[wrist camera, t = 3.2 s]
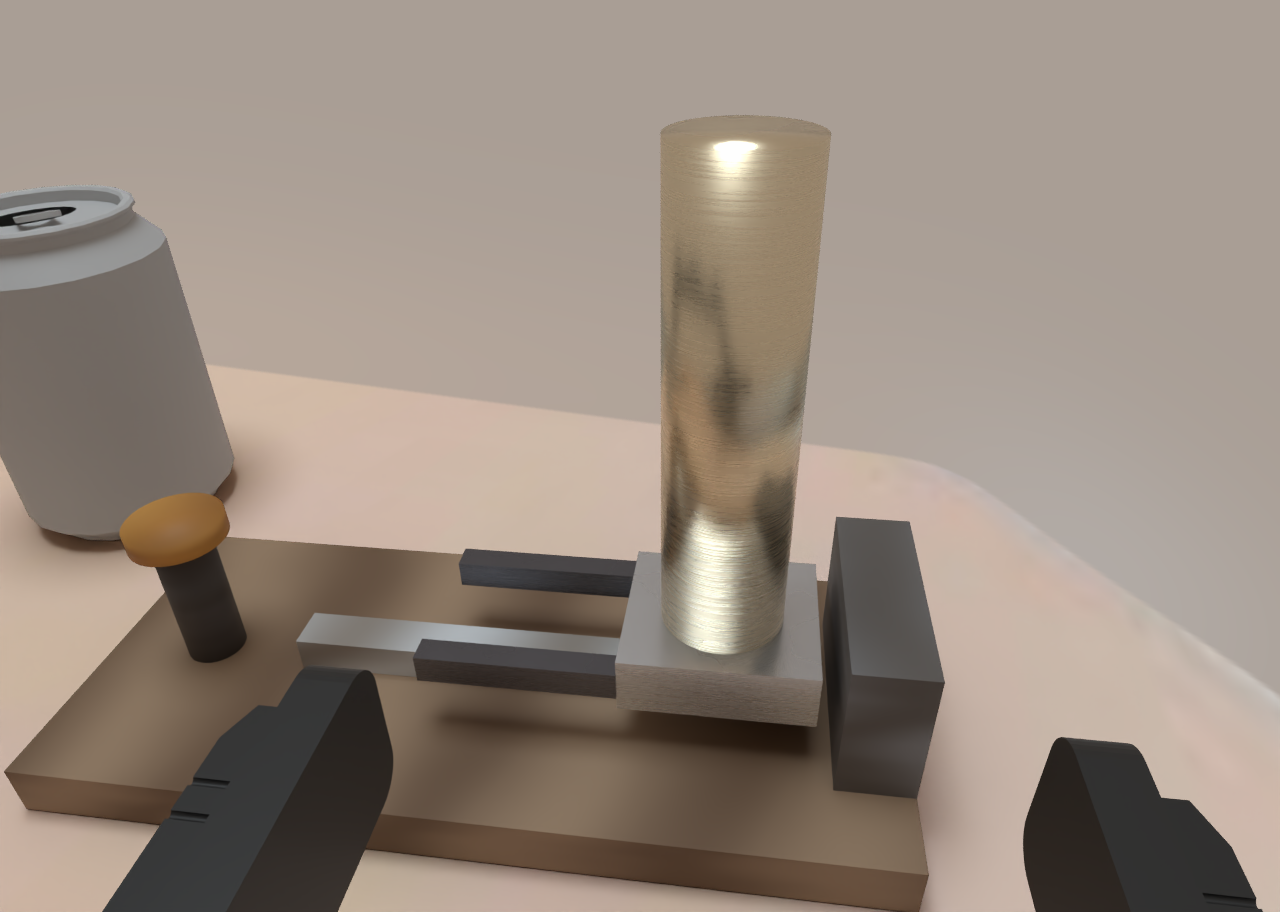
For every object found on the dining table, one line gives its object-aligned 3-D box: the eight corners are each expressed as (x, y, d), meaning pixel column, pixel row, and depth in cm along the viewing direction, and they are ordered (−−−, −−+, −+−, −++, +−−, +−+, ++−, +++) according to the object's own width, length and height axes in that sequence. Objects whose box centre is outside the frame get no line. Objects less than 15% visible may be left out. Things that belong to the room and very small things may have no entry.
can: (203, 431, 40) (117, 164, 34) (268, 499, 35) (181, 203, 29) (17, 494, 36) (-122, 202, 30) (61, 581, 31) (-93, 256, 25)
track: (26, 808, 23) (-77, 639, 20) (226, 569, 31) (176, 422, 28) (918, 913, 20) (966, 736, 17) (876, 620, 29) (903, 465, 26)
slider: (419, 691, 23) (306, 152, 15) (470, 580, 26) (399, 105, 19) (816, 728, 21) (893, 163, 14) (810, 606, 25) (869, 110, 18)
